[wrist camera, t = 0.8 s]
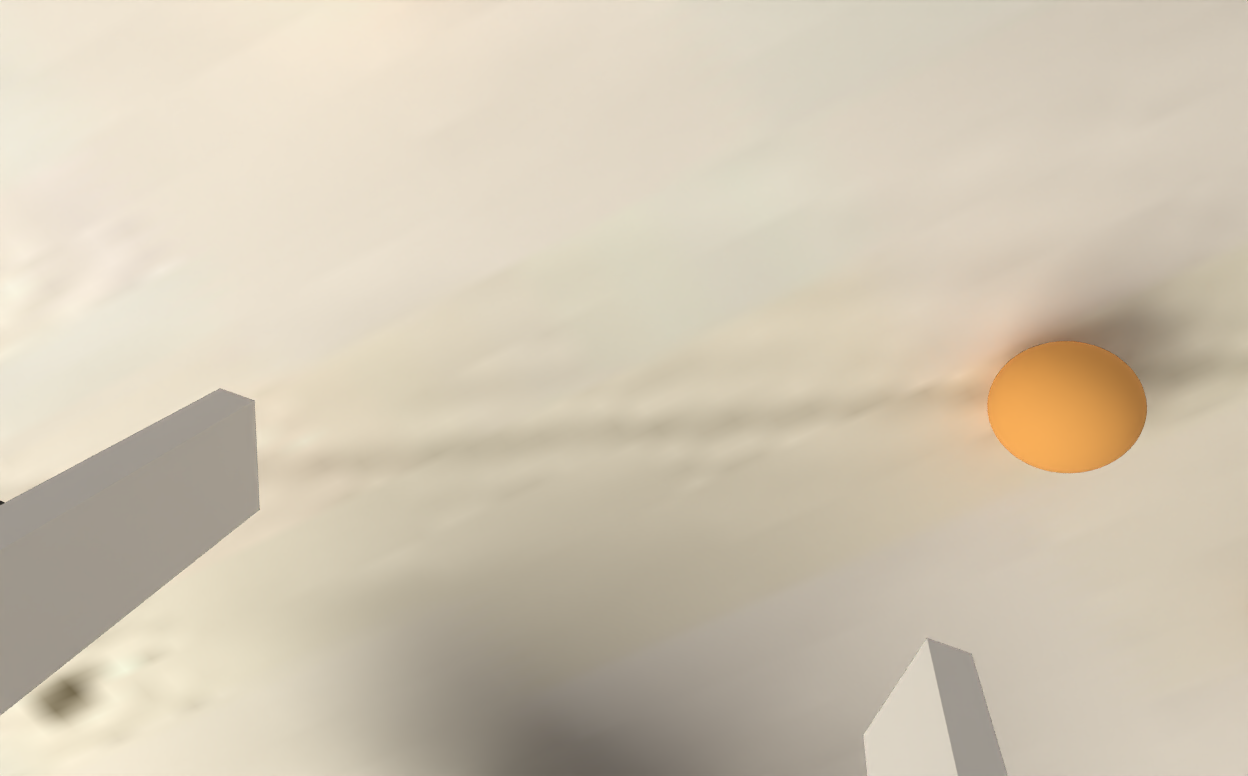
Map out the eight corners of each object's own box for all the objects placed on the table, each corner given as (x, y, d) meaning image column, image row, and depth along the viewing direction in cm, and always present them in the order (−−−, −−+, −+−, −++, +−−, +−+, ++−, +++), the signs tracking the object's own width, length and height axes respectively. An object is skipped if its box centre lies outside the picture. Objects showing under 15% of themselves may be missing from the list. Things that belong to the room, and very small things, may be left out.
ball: (1060, 462, 31) (1134, 513, 25) (947, 424, 31) (996, 467, 25) (1120, 353, 29) (1212, 384, 24) (1000, 314, 29) (1065, 336, 24)
